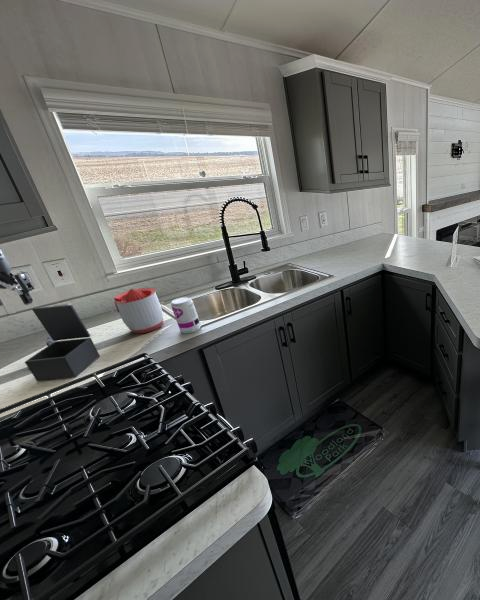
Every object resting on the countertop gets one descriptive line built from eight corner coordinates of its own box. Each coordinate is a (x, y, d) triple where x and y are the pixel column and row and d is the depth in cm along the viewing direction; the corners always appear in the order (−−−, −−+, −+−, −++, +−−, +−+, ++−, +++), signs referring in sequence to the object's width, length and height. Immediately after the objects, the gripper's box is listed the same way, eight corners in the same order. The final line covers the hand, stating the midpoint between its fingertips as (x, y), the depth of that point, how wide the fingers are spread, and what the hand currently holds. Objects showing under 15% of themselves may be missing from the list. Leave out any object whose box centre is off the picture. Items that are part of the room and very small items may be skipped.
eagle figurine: (73, 346, 137) (57, 340, 139) (57, 339, 131) (40, 333, 133) (59, 362, 134) (42, 356, 135) (41, 356, 128) (25, 350, 129)
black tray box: (75, 377, 120) (64, 357, 116) (37, 381, 119) (24, 361, 115) (100, 356, 132) (90, 337, 129) (65, 359, 131) (54, 341, 127)
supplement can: (188, 335, 145) (177, 305, 138) (176, 332, 148) (165, 302, 142) (205, 327, 151) (195, 298, 145) (193, 323, 155) (183, 295, 148)
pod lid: (70, 305, 121) (79, 299, 125) (31, 309, 119) (42, 302, 124) (89, 337, 128) (97, 329, 133) (53, 340, 126) (63, 333, 131)
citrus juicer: (122, 328, 153) (103, 289, 144) (165, 316, 163) (151, 279, 154) (123, 341, 142) (104, 300, 133) (170, 328, 152) (154, 288, 143)
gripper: (-55, 263, 96) (-23, 312, 103) (1, 259, 98) (29, 307, 105) (-29, 255, 103) (0, 302, 110) (22, 252, 105) (47, 298, 111)
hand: (14, 304), depth 107 cm, fingers open, 8 cm apart
